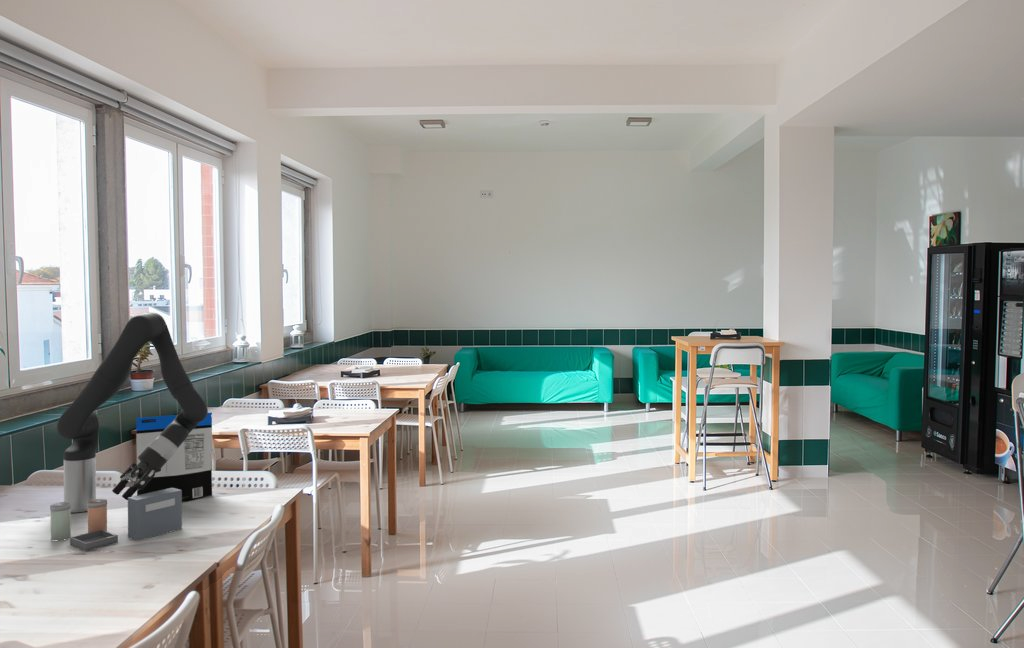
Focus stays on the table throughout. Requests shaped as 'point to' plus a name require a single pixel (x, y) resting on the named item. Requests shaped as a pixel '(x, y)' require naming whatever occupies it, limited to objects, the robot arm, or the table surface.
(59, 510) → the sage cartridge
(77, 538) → the charcoal tray
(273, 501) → the table surface
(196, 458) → the protein powder
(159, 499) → the dark grey unit
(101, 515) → the cylinder
